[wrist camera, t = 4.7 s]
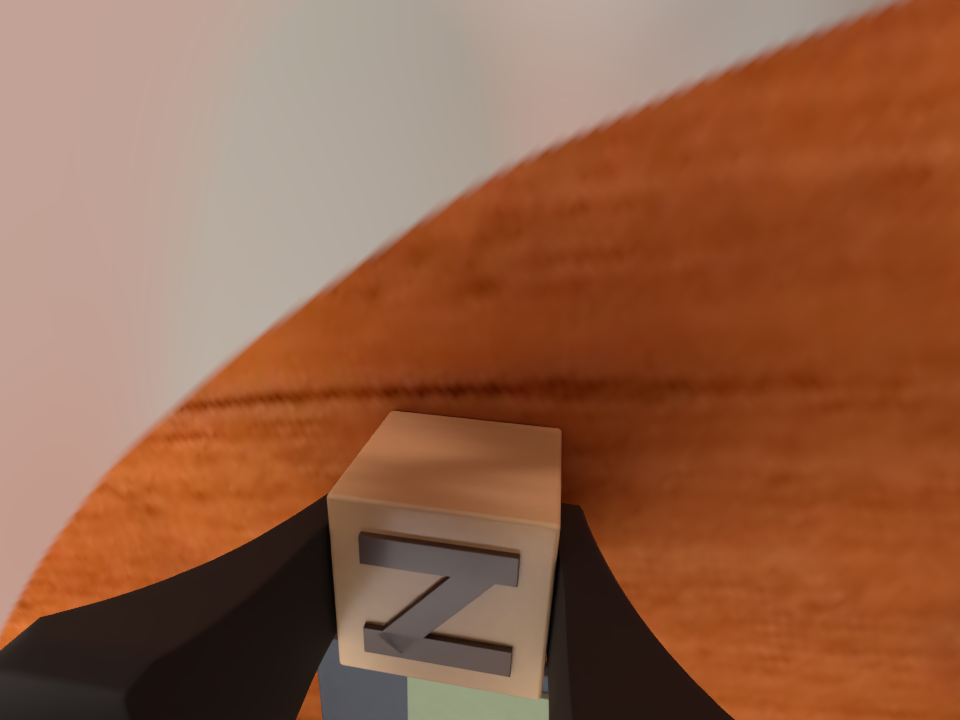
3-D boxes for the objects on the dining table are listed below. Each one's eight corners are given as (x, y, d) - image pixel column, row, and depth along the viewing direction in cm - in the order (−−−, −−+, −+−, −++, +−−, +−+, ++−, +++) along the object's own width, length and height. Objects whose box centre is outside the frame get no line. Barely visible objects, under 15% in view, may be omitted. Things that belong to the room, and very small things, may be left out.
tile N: (562, 427, 13) (561, 531, 9) (547, 569, 14) (540, 709, 11) (390, 408, 14) (321, 498, 10) (394, 547, 15) (336, 671, 11)
